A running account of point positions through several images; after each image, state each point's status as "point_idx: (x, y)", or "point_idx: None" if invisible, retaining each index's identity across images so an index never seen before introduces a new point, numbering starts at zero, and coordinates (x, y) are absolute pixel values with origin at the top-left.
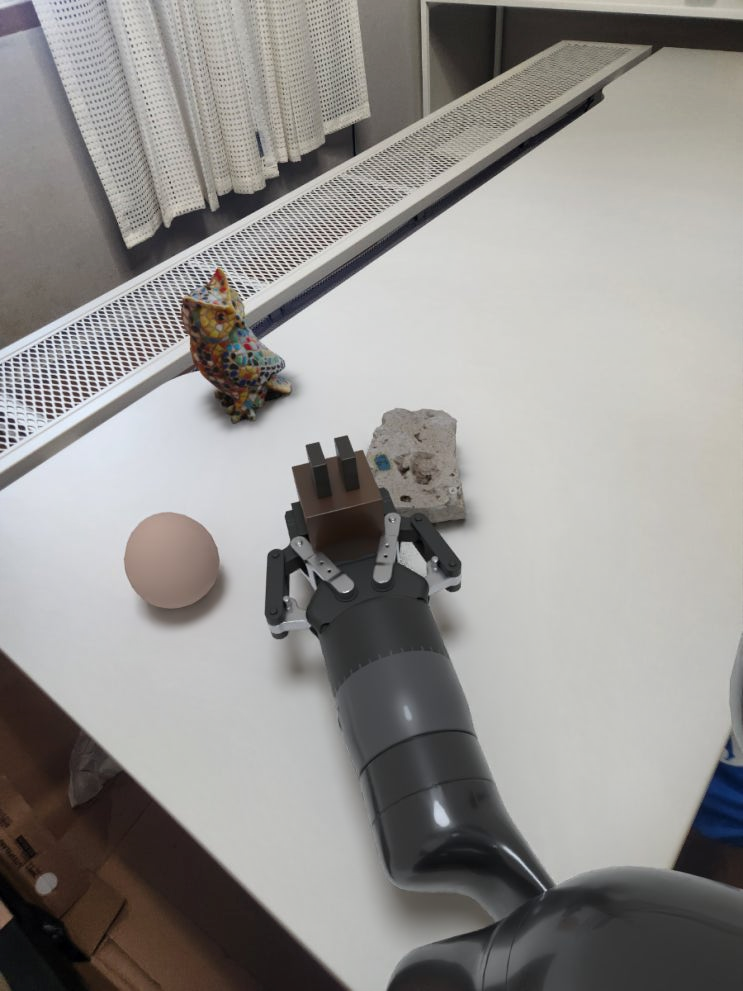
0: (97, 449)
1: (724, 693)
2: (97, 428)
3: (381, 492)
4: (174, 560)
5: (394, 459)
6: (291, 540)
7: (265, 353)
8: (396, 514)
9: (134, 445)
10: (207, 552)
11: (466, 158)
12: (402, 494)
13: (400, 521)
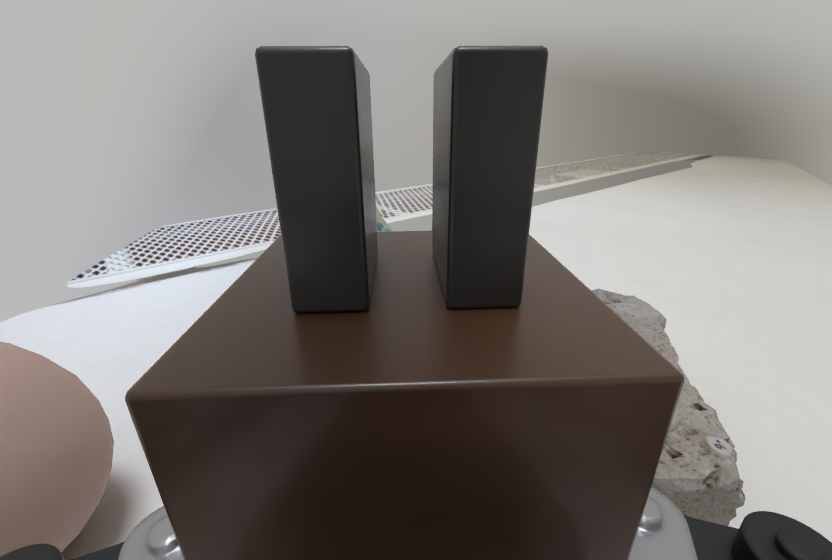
0: (148, 295)
1: None
2: (170, 278)
3: None
4: None
5: None
6: (152, 513)
7: (376, 214)
8: (656, 495)
9: (191, 298)
10: (3, 474)
11: (583, 177)
12: None
13: (687, 540)
